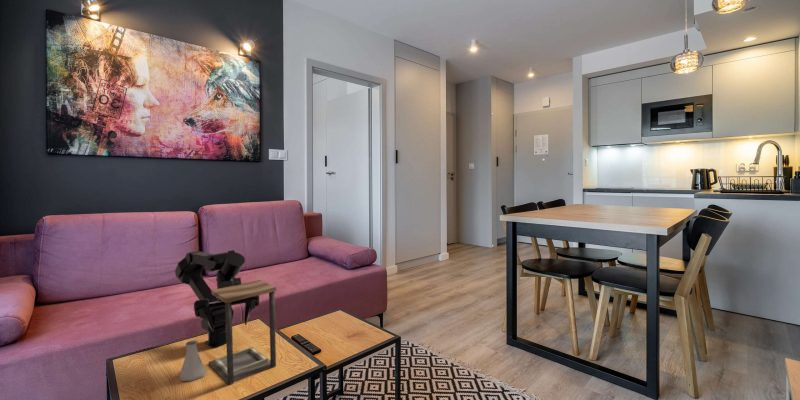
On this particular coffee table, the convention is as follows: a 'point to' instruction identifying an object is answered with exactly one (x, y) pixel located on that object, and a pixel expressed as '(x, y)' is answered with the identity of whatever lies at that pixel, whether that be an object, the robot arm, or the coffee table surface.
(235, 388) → the coffee table surface
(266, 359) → the wooden top side table
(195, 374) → the flask
